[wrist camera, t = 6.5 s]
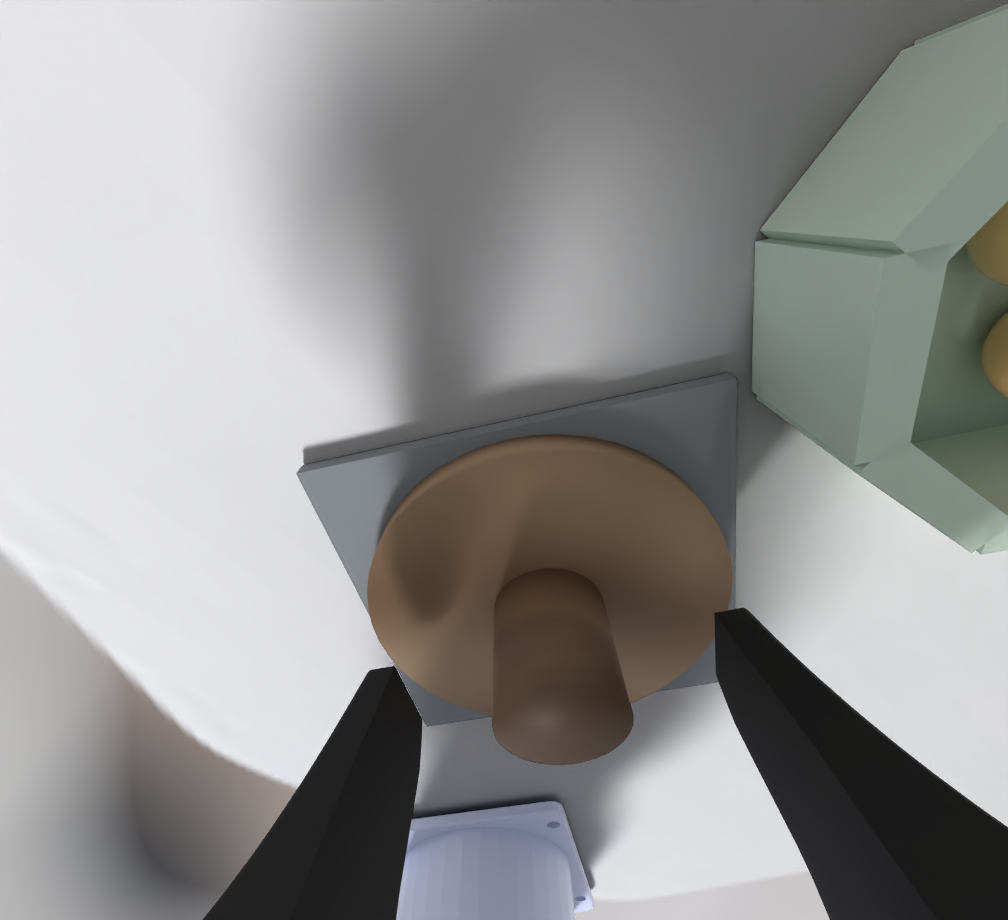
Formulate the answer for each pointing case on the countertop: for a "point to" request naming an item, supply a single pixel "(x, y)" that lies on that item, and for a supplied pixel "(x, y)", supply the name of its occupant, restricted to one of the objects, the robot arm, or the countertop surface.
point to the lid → (549, 588)
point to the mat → (624, 420)
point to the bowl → (903, 287)
